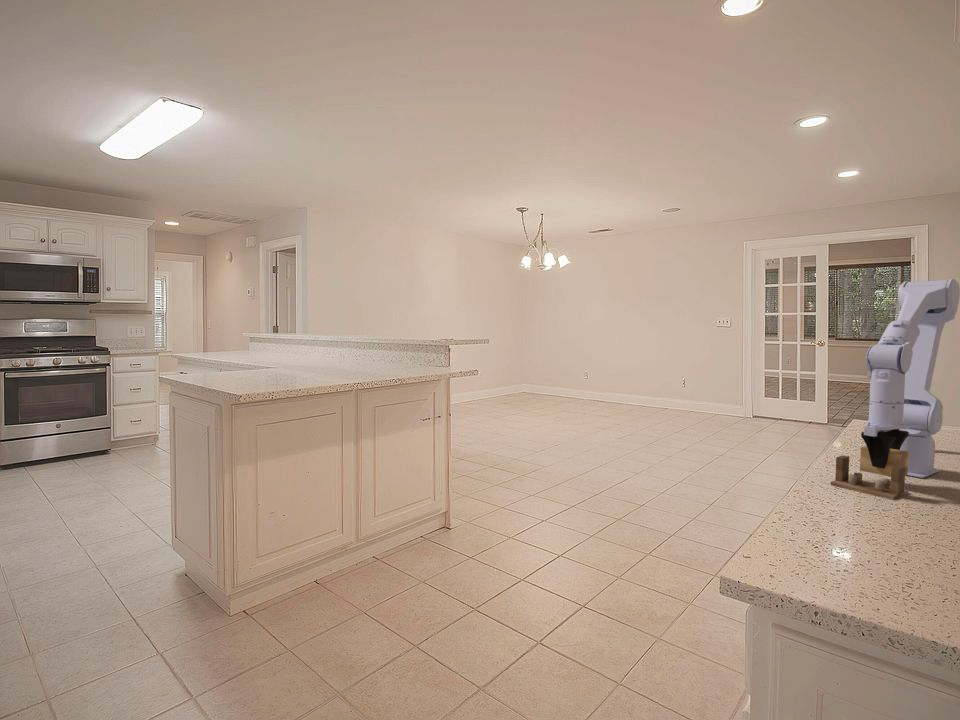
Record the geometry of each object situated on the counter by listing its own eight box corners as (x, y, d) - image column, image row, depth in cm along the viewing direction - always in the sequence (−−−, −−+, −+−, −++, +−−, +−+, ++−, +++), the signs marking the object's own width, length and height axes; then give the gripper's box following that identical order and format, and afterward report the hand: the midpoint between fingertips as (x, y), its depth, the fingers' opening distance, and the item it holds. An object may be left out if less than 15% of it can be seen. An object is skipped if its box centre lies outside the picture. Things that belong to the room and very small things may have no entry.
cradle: (846, 479, 114) (847, 453, 114) (908, 493, 105) (909, 465, 104) (830, 484, 110) (831, 458, 110) (893, 499, 101) (894, 471, 101)
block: (868, 467, 115) (869, 444, 114) (907, 475, 109) (908, 451, 108) (859, 470, 113) (860, 447, 112) (899, 478, 107) (900, 454, 106)
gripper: (894, 407, 102) (891, 475, 103) (924, 400, 110) (920, 464, 111) (853, 403, 108) (850, 467, 109) (884, 396, 116) (881, 456, 117)
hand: (883, 465), depth 111 cm, fingers closed on block, 4 cm apart
